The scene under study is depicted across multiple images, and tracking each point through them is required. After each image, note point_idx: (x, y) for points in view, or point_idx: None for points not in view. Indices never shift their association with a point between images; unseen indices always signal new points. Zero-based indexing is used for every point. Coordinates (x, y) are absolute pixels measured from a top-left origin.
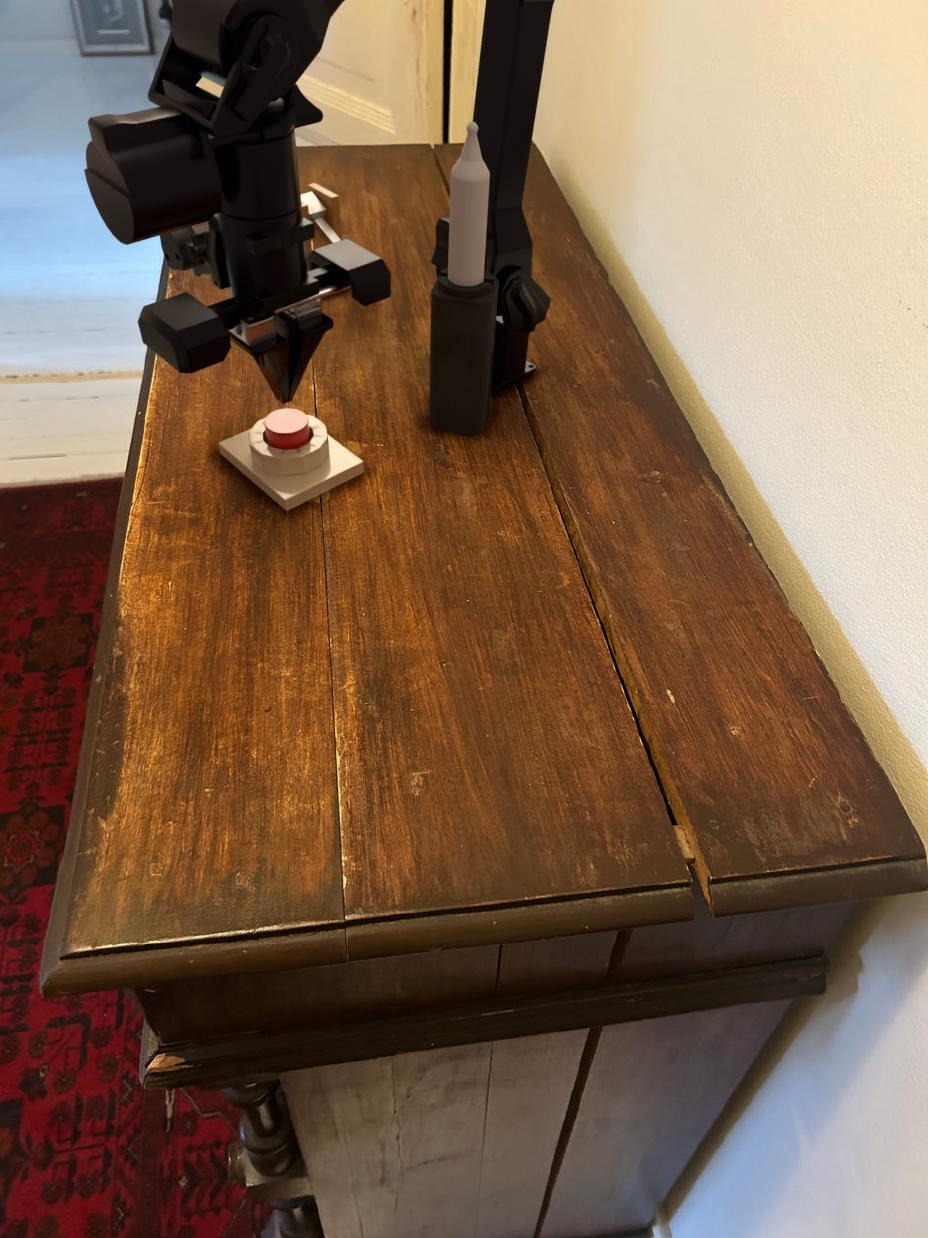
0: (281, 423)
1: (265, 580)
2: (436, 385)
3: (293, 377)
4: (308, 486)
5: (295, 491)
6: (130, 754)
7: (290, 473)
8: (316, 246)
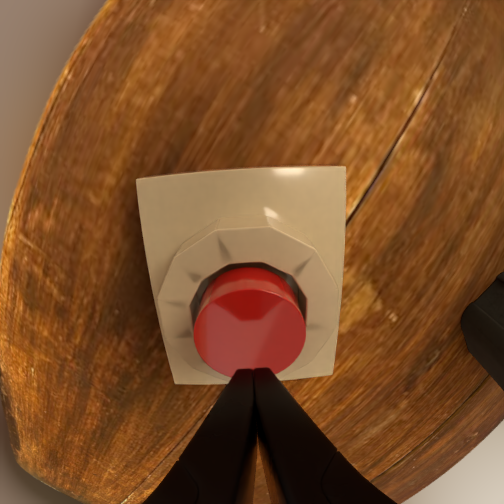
0: (232, 344)
1: (116, 422)
2: (501, 364)
3: (269, 493)
4: (222, 380)
5: (198, 378)
6: (22, 441)
7: None
8: None
